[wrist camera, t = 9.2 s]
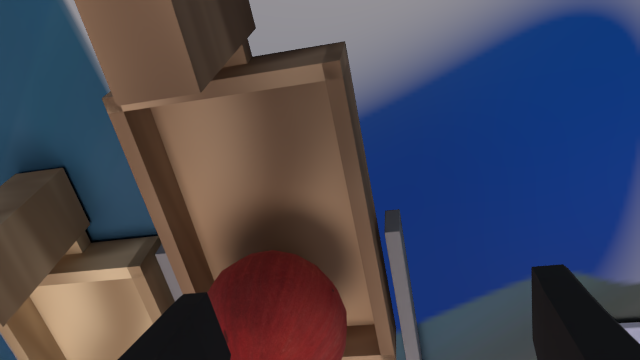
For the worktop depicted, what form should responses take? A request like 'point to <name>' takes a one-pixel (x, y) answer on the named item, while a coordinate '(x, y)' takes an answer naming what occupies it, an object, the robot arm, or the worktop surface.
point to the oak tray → (70, 276)
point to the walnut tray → (244, 150)
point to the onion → (279, 309)
